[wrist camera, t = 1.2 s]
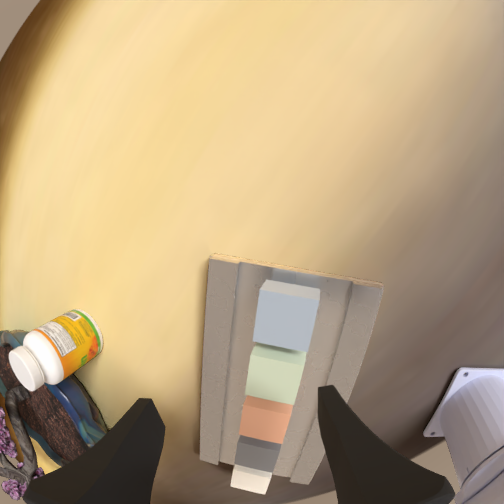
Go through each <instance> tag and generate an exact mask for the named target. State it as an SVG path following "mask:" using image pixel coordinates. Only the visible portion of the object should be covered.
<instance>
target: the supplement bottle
mask: <svg viewBox="0 0 504 504" xmlns="http://www.w3.org/2000/svg"><path fill="white" fill-rule="evenodd" d="M102 347H103V337H102V333H101V331H100V328H99V326H98V325H97V323H96V322H95V320H94V319H93V318H92V317H91V316H90V315H89V314H88V313H86V312H85V311H83V310H80V309H74V310H71V311H69V312H67V313H65V314H63V315H61V316H59V317H57V318H55V319H54V320H52V321H50V322H48V323H46V324H44V325H42V326H40V327H38V328H36V329H34V330H32V331H31V332H29V333H28V334H27V335H26V336H25V338H24V341H23V346H19V347H17V348H15V349H14V350H12V351H10V353H9V361H10V365H11V367H12V369H13V371H14V373H15V375H16V377H17V378H18V380H19V381H20V382H21V384H22V385H23V386H24V387H25V388H27V389H28V390H29V391H35V390H36V389H38V388H39V387H41V386H42V385H43V384H44V382H45V383H47V384H51V385H55V384H58V383H60V382H61V381H63V380H64V379H65V378H67V377H68V376H69V375H71V374H72V373H73V372H75V371H76V370H77V369H79V368H80V367H82V366H83V365H84V364H86V363H87V362H88V361H90V360H91V359H92V358H94V357H95V356H97V355H98V354H99V353H100V352H101V350H102Z"/></svg>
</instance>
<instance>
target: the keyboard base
mask: <svg viewBox="0 0 504 504" xmlns="http://www.w3.org/2000/svg"><path fill="white" fill-rule="evenodd" d="M266 279H267V280H273V281H278V282H284V283H289V284H295V285H300V286H306V287H312V288H317V289H320V299H319V305H318V310H317V314H316V319H315V323H314V328H313V332H312V336H311V341H310V345H309V349H308V352H306V359H305V365H304V369H303V373H302V377H301V381H300V385H299V388H298V392H297V396H296V399H295V403H294V405H293V408H292V413H291V417H290V420H289V424H288V427H287V430H286V433H285V437H284V440H283V443H282V445H281V449H280V452H279V456H278V459H277V462H276V465H275V468H274V470H273V473H272V474H273V475H279V476H284V477H290V482H294V483H301V484H308V485H309V483H310V481H311V480H312V478H313V476H314V474H315V472H316V470H317V468H318V466H319V464H320V462H321V460H322V458H323V456H324V454H325V448H324V445H323V442H322V438H321V434H320V428H319V423H318V387H322V386H327V385H334V386H335V388H336V389H337V391H338V392H339V394H340V395H341V397H342V398H343V399H344V401H345V402H346V403H347V402H348V399H349V397H350V394H351V392H352V389H353V386H354V384H355V381H356V378H357V375H358V373H359V370H360V367H361V364H362V361H363V358H364V355H365V352H366V349H367V346H368V343H369V340H370V336H371V333H372V330H373V326H374V323H375V320H376V316H377V312H378V309H379V305H380V301H381V298H382V294H383V290H384V285H383V284H382V282H378V281H372V280H366V279H360V278H354V277H348V276H343V275H337V274H331V273H325V272H319V271H313V270H308V269H302V268H296V267H291V266H285V265H279V264H273V263H268V262H262V261H256V260H251V259H245V258H240V257H234V256H228V255H223V254H217V253H214V254H213V255H211V256H210V258H209V270H208V282H207V296H206V310H205V326H204V343H203V363H202V386H201V418H200V460H203V461H206V462H209V463H212V464H216V465H218V464H219V462H224V463H227V464H231V465H234V466H235V464H234V462H235V455H236V449H237V442H238V440H239V437H240V435H239V429H240V423H241V416H242V410H243V404H244V402H245V399H246V397H247V395H245V389H246V383H247V376H248V369H249V362H250V355H251V353H252V351H253V349H254V347H255V344H256V342H254V341H253V334H254V327H255V320H256V313H257V305H258V298H259V291H260V288H261V287H262V285H263V284H264V282H265V281H266Z"/></svg>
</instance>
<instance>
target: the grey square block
mask: <svg viewBox="0 0 504 504" xmlns="http://www.w3.org/2000/svg"><path fill="white" fill-rule="evenodd" d="M319 299H320V289H317V288H312V287H306V286H300V285H295V284H289V283H284V282H278V281H273V280H267V279H266V281H265V282H264V284H263V285H262V287H261V288H260V291H259V298H258V305H257V313H256V320H255V327H254V334H253V341H254V342H259V343H263V344H268V345H273V346H278V347H283V348H288V349H293V350H298V351H304V352H308V349H309V345H310V341H311V336H312V332H313V328H314V323H315V319H316V314H317V310H318V305H319Z"/></svg>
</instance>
